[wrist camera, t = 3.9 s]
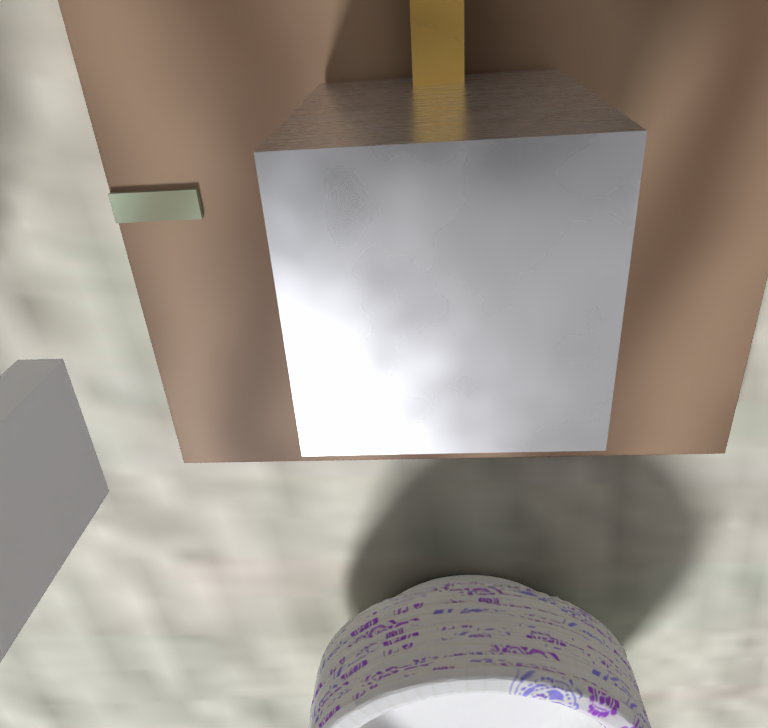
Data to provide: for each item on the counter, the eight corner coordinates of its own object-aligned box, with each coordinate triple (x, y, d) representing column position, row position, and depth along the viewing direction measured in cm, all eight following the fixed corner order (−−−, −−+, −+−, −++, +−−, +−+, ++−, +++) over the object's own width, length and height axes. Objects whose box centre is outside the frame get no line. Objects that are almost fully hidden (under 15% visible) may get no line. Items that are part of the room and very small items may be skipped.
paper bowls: (676, 581, 32) (744, 745, 25) (535, 745, 40) (558, 906, 33) (380, 490, 30) (367, 640, 23) (291, 680, 38) (261, 836, 31)
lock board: (194, 441, 29) (182, 465, 28) (29, -202, 18) (-6, -218, 17) (710, 430, 28) (726, 456, 26) (871, -286, 17) (914, -312, 15)
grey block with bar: (544, 289, 23) (606, 450, 15) (342, 297, 23) (302, 456, 16) (568, -98, 17) (684, -158, 10) (303, -76, 18) (210, -117, 10)
